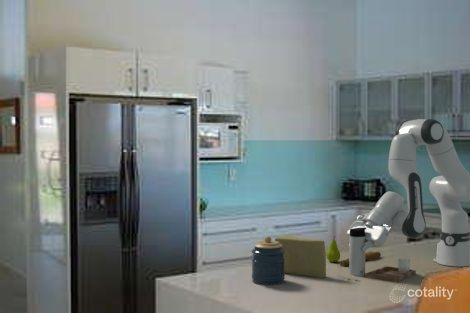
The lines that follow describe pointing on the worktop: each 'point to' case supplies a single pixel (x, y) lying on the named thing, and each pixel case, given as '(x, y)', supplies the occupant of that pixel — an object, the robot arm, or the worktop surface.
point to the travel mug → (357, 252)
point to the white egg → (403, 266)
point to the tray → (389, 274)
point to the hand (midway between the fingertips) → (356, 248)
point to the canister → (268, 262)
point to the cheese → (303, 256)
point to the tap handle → (368, 257)
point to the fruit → (333, 252)
